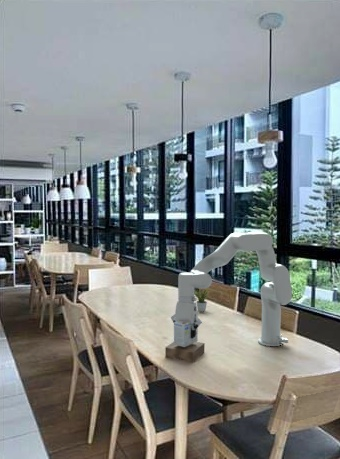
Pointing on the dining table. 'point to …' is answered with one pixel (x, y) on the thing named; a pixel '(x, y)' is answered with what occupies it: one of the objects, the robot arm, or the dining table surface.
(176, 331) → the light bulb box
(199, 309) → the house plant
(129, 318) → the dining table surface
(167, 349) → the walnut block
